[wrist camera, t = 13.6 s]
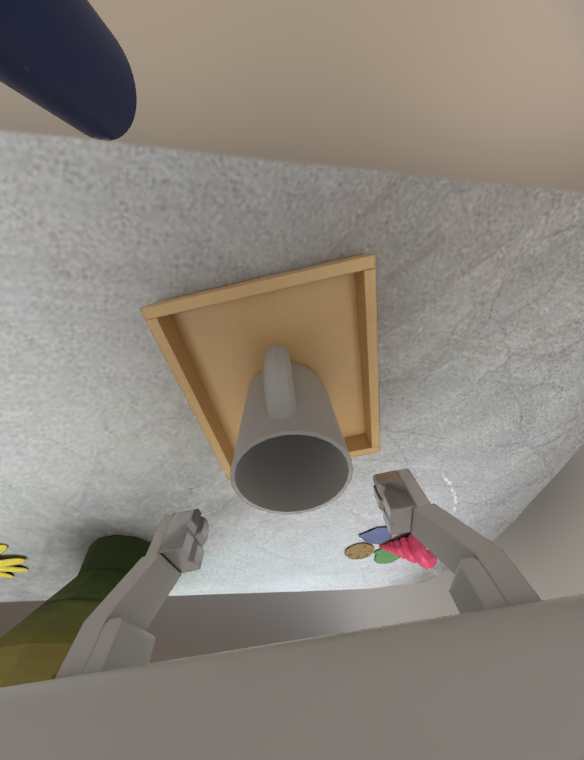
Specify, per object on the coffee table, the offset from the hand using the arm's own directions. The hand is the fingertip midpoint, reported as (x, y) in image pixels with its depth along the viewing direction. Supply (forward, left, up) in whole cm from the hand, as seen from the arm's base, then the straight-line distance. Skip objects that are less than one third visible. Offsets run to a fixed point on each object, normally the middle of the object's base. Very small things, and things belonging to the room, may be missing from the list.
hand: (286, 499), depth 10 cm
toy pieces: (+33, +9, -12) cm, 37 cm away
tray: (0, 0, -12) cm, 12 cm away
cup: (0, 0, -12) cm, 12 cm away
